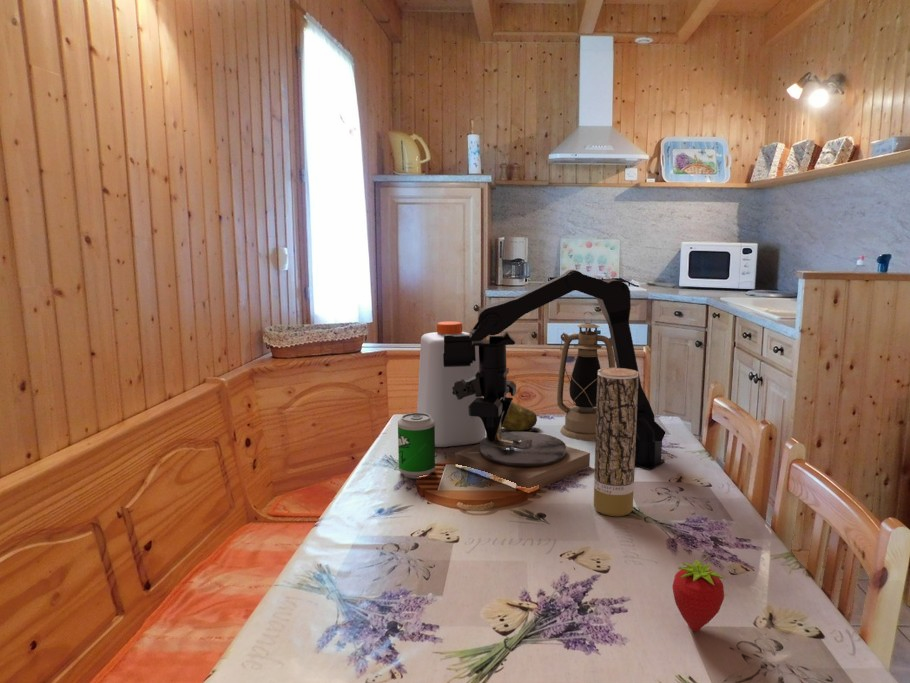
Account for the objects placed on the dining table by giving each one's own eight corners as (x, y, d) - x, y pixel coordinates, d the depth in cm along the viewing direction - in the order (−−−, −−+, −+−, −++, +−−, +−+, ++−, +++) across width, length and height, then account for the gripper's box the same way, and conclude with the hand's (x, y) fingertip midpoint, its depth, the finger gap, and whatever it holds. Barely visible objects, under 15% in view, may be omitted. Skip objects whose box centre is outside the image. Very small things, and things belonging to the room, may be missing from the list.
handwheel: (579, 447, 135) (580, 418, 134) (541, 473, 120) (542, 440, 119) (506, 433, 145) (506, 405, 144) (463, 455, 130) (462, 425, 129)
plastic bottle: (412, 431, 158) (410, 320, 153) (469, 425, 162) (469, 317, 158) (428, 450, 144) (426, 328, 139) (490, 443, 148) (491, 325, 143)
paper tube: (634, 519, 108) (640, 376, 104) (593, 516, 110) (597, 375, 105) (631, 503, 115) (637, 368, 111) (593, 500, 116) (597, 367, 112)
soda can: (437, 467, 133) (436, 412, 131) (432, 480, 126) (432, 422, 124) (402, 466, 134) (401, 411, 132) (395, 479, 127) (394, 421, 125)
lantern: (619, 429, 158) (623, 310, 153) (610, 443, 148) (615, 316, 143) (562, 422, 164) (565, 307, 159) (550, 435, 154) (552, 313, 149)
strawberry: (721, 618, 80) (726, 544, 79) (721, 654, 73) (727, 574, 72) (672, 608, 82) (676, 536, 81) (668, 642, 76) (672, 564, 74)
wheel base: (589, 466, 133) (589, 452, 133) (529, 493, 119) (529, 478, 119) (516, 444, 147) (516, 431, 147) (455, 466, 133) (455, 452, 133)
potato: (533, 436, 153) (533, 404, 152) (481, 432, 157) (481, 400, 156) (538, 426, 161) (538, 395, 160) (489, 422, 165) (489, 392, 163)
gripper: (467, 354, 143) (469, 420, 146) (442, 374, 126) (445, 449, 129) (516, 356, 140) (517, 423, 143) (497, 376, 122) (498, 453, 125)
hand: (494, 436), depth 135 cm, fingers open, 5 cm apart
